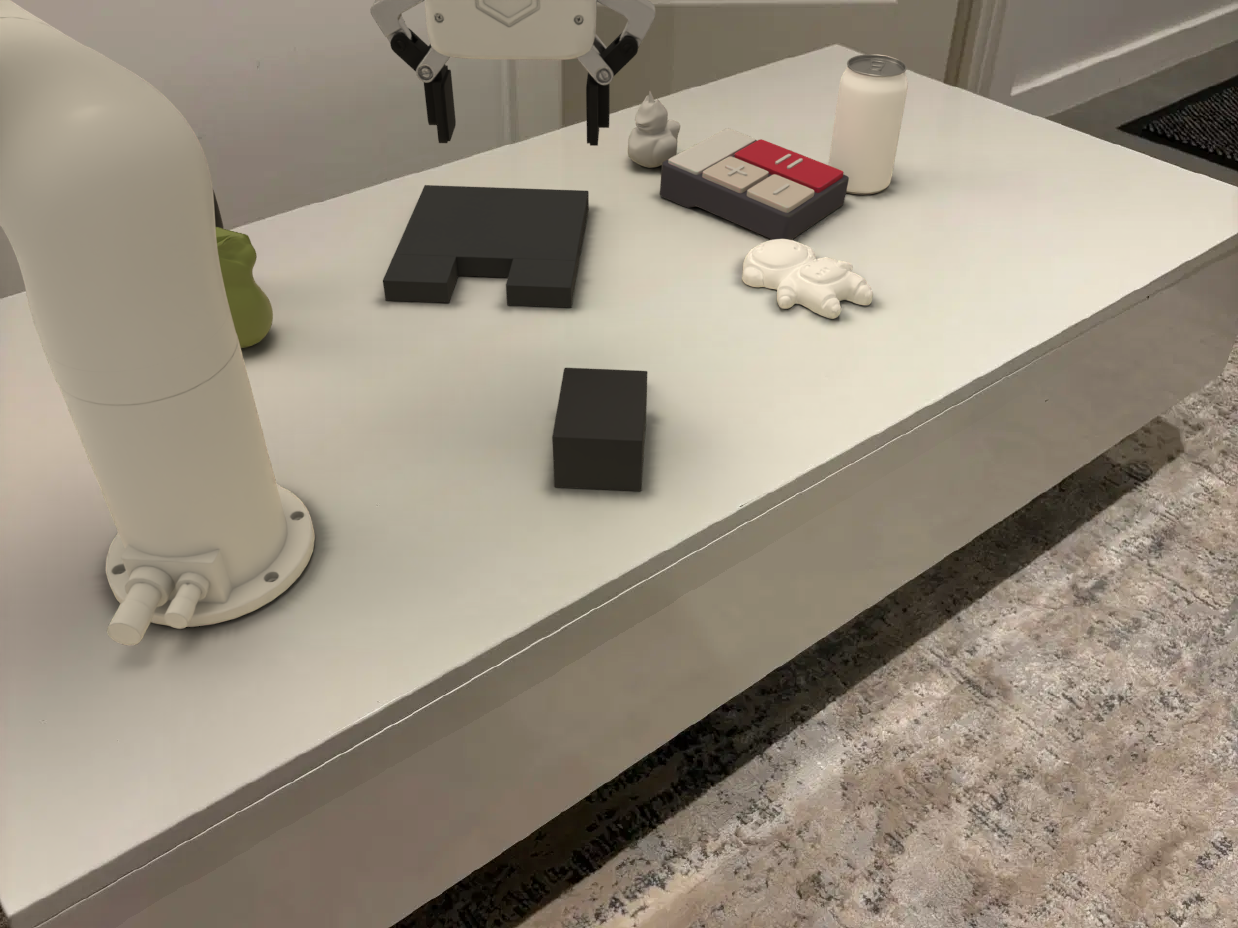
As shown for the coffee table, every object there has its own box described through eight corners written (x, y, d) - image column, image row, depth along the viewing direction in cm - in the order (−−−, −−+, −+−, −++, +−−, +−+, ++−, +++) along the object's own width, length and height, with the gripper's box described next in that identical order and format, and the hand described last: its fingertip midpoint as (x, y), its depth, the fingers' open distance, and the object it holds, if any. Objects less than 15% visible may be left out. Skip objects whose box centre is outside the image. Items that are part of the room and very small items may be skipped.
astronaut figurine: (809, 331, 90) (814, 300, 88) (722, 268, 97) (724, 238, 95) (887, 301, 93) (893, 270, 91) (797, 243, 101) (801, 213, 99)
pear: (194, 350, 87) (161, 238, 80) (238, 317, 91) (209, 208, 84) (251, 367, 85) (221, 254, 79) (292, 333, 89) (268, 223, 82)
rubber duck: (613, 163, 114) (614, 88, 109) (658, 145, 117) (661, 72, 112) (649, 180, 111) (651, 104, 106) (694, 162, 114) (698, 87, 109)
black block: (641, 491, 74) (642, 440, 72) (554, 487, 75) (552, 436, 72) (648, 388, 84) (649, 339, 81) (570, 384, 84) (569, 336, 81)
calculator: (790, 210, 98) (660, 155, 105) (783, 251, 101) (657, 195, 108) (852, 169, 105) (726, 120, 111) (844, 209, 107) (722, 159, 114)
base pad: (571, 308, 92) (570, 287, 91) (385, 300, 93) (382, 280, 92) (588, 209, 106) (588, 190, 105) (426, 203, 107) (424, 184, 105)
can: (821, 190, 109) (837, 72, 101) (832, 164, 114) (848, 49, 106) (885, 200, 108) (907, 81, 100) (894, 173, 112) (915, 57, 105)
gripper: (334, -146, 57) (378, 159, 69) (660, -142, 57) (651, 163, 68) (362, -174, 63) (399, 111, 74) (659, -171, 63) (651, 115, 74)
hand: (520, 136), depth 71 cm, fingers open, 9 cm apart
